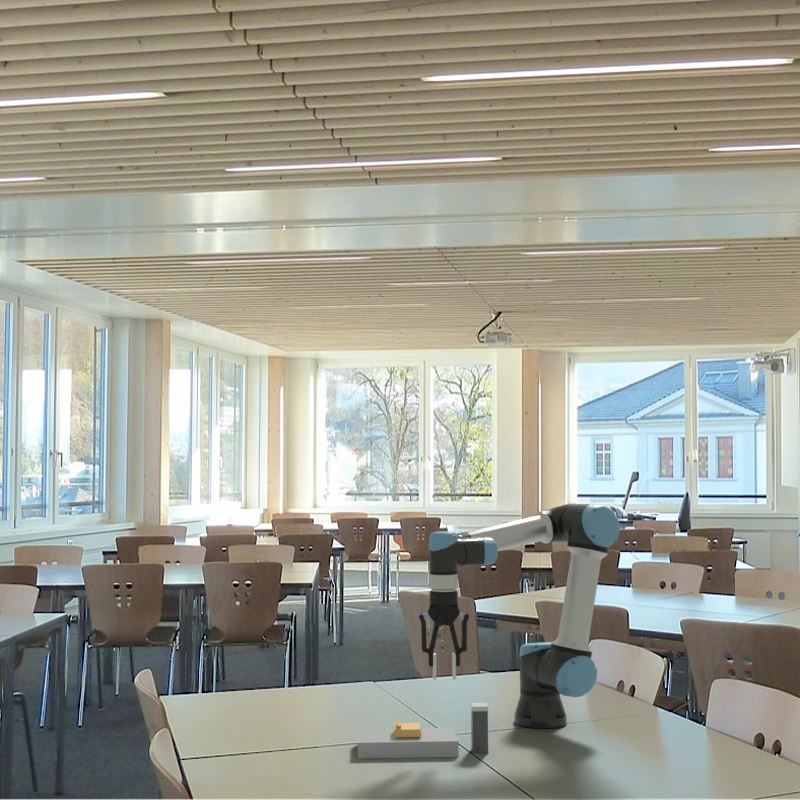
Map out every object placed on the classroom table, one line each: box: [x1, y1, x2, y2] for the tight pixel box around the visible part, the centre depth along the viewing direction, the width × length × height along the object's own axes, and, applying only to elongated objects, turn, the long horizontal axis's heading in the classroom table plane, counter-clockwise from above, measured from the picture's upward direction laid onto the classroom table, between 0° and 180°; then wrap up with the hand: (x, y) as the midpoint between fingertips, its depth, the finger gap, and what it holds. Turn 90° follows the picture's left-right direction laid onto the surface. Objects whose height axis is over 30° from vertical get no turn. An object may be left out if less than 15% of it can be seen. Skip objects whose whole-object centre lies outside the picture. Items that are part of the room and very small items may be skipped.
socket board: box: [357, 727, 460, 759], centre depth 286 cm, size 26×14×4 cm, turn 92°
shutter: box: [393, 720, 421, 738], centre depth 286 cm, size 7×7×3 cm
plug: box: [470, 702, 489, 755], centre depth 285 cm, size 4×4×12 cm
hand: (444, 678), depth 287 cm, fingers open, 4 cm apart
